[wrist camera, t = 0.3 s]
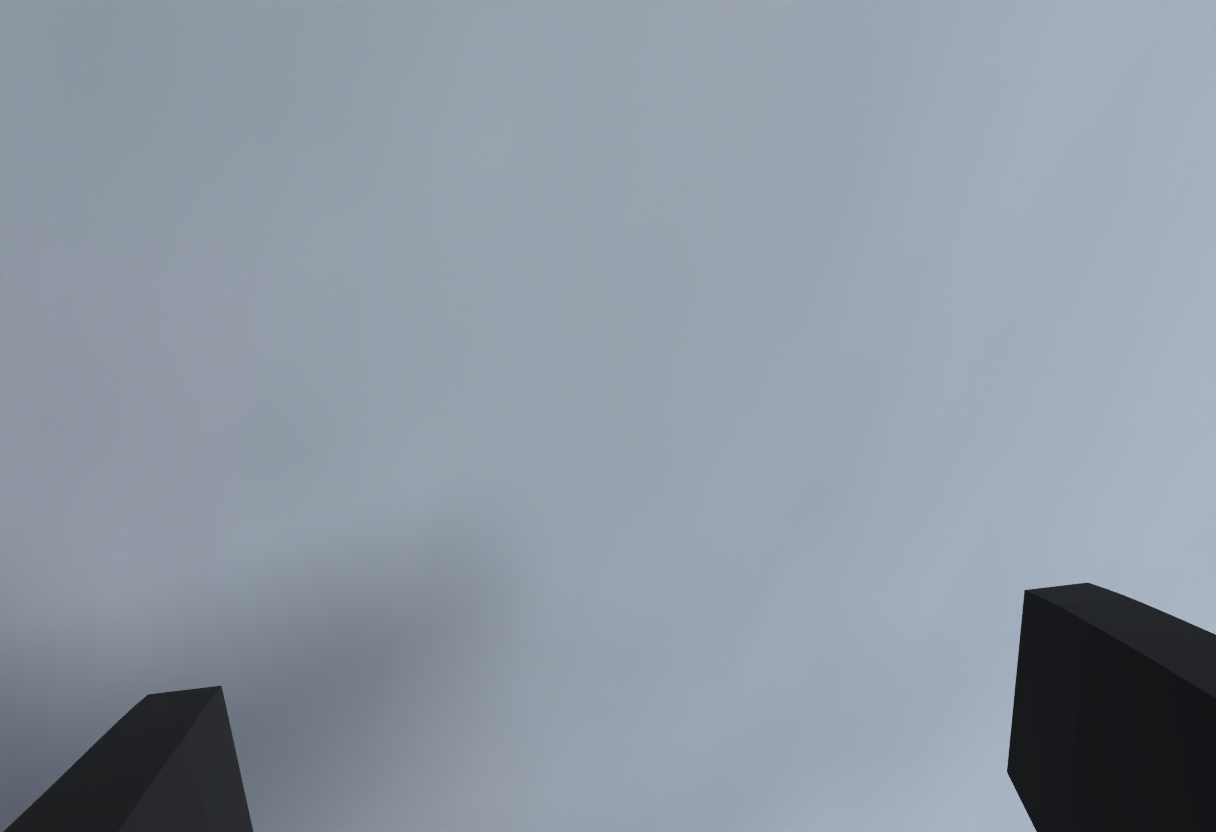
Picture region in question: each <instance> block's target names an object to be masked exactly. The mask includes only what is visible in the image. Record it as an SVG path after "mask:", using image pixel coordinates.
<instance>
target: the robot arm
mask: <svg viewBox="0 0 1216 832" xmlns="http://www.w3.org/2000/svg"><path fill="white" fill-rule="evenodd" d="M1007 773H1008V775H1009V777H1010V779H1011V781H1012V783H1013V785H1014V787H1015V789H1016V791H1017V793H1018V795H1019V797H1020V799H1021V801H1022V803H1023V805H1024V807H1025V809H1026V811H1027V813H1028V815H1029V817H1030V819H1031V821H1032V823H1033V825H1034V827H1035V829H1036V831H1037V832H1216V635H1215V634H1212V633H1210V632H1208V631H1206V630H1203V629H1201V628H1199V627H1197V626H1195V625H1192V624H1190V623H1188V622H1185V621H1183V620H1181V619H1179V618H1176V617H1174V616H1172V615H1169V614H1167V613H1165V612H1162V611H1160V610H1158V609H1155V608H1153V607H1151V606H1148V605H1146V604H1144V603H1141V602H1139V601H1136V600H1134V599H1131V598H1129V597H1126V596H1124V595H1121V594H1119V593H1116V592H1113V591H1111V590H1108V589H1105V588H1102V587H1099V586H1096V585H1093V584H1090V583H1081V584H1073V585H1064V586H1056V587H1048V588H1039V589H1031V590H1025V593H1024V603H1023V614H1022V624H1021V634H1020V644H1019V655H1018V665H1017V675H1016V686H1015V696H1014V706H1013V717H1012V727H1011V737H1010V748H1009V758H1008V768H1007ZM4 832H253V829H252V824H251V820H250V815H249V811H248V806H247V801H246V797H245V792H244V788H243V783H242V778H241V774H240V769H239V765H238V760H237V755H236V751H235V746H234V742H233V737H232V732H231V728H230V723H229V719H228V714H227V709H226V705H225V700H224V696H223V691H222V686H216V687H208V688H199V689H191V690H182V691H174V692H166V693H157V694H149V695H147V696H146V697H145V698H144V699H142V700H141V701H140V702H139V703H138V704H137V705H135V706H134V707H133V708H132V709H131V710H130V711H129V712H128V713H127V714H126V715H124V716H123V717H122V718H121V719H120V720H119V721H118V722H117V723H116V724H115V725H114V726H113V727H112V728H111V729H110V730H109V731H108V732H107V733H106V734H105V735H104V736H102V737H101V738H100V739H99V740H98V741H97V742H96V743H95V744H94V745H93V746H92V747H91V748H90V749H89V750H88V751H87V752H86V753H85V754H84V755H83V756H82V757H81V758H80V759H79V760H78V761H77V762H76V763H75V764H74V765H73V766H72V767H71V768H70V769H69V770H68V771H67V772H65V773H64V774H63V775H62V776H61V777H60V778H59V779H58V780H57V781H56V782H55V783H54V784H53V785H52V786H51V787H50V788H49V789H48V790H47V791H46V792H45V793H44V794H43V795H42V796H41V797H40V798H39V799H37V800H36V801H35V802H34V803H33V804H32V805H31V806H30V807H29V808H28V809H27V810H26V811H25V812H24V813H23V814H22V815H21V816H20V817H19V818H17V819H16V820H15V821H14V822H13V823H12V824H11V825H10V826H9V827H8V828H7V829H6V830H5V831H4Z"/></svg>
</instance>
